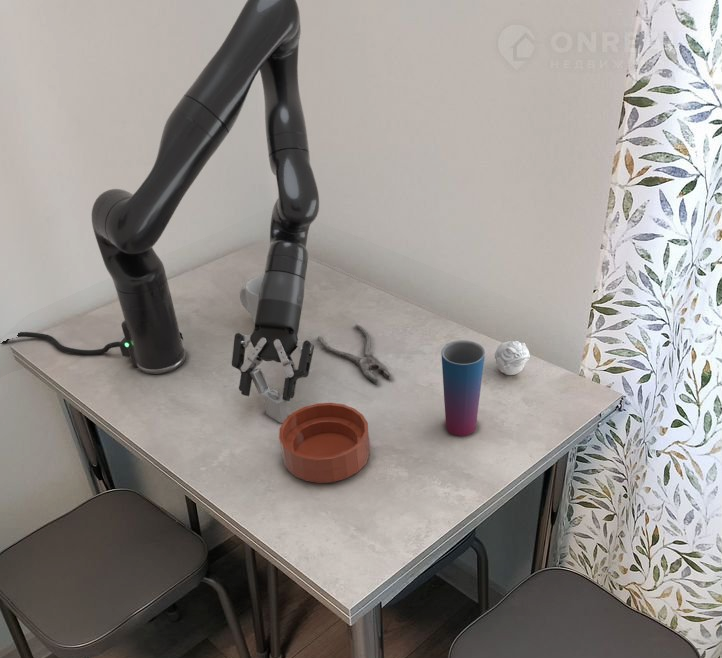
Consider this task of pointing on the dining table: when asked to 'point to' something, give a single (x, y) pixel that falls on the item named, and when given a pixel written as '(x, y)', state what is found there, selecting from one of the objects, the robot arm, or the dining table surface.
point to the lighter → (269, 397)
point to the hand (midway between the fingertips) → (265, 397)
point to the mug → (251, 295)
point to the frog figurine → (511, 357)
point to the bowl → (324, 442)
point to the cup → (462, 385)
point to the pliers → (363, 363)
